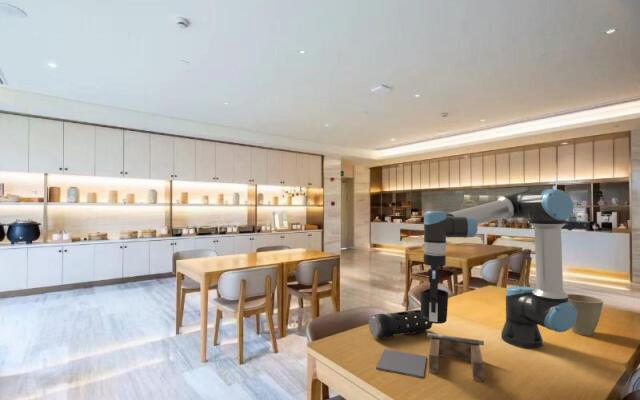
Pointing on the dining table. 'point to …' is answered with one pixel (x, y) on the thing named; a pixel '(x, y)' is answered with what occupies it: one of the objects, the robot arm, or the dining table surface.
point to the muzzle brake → (397, 323)
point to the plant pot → (585, 313)
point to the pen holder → (442, 305)
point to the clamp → (456, 352)
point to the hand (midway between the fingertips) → (433, 316)
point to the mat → (402, 363)
